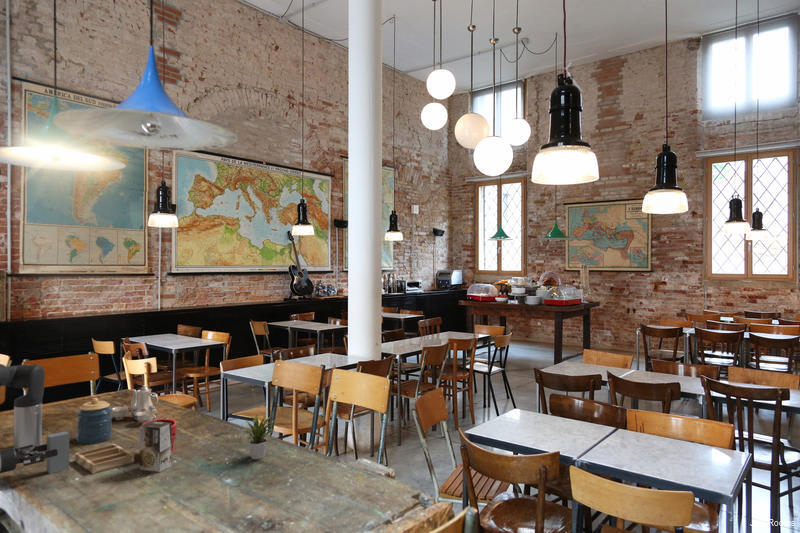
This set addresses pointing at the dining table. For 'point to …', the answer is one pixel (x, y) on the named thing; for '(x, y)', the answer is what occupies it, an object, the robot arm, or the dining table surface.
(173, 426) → the plant pot
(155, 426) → the coffee box
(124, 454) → the tray
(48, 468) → the gray rectangular block
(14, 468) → the robot arm
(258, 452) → the house plant
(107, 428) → the canister
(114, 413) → the chinaware
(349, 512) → the dining table surface
